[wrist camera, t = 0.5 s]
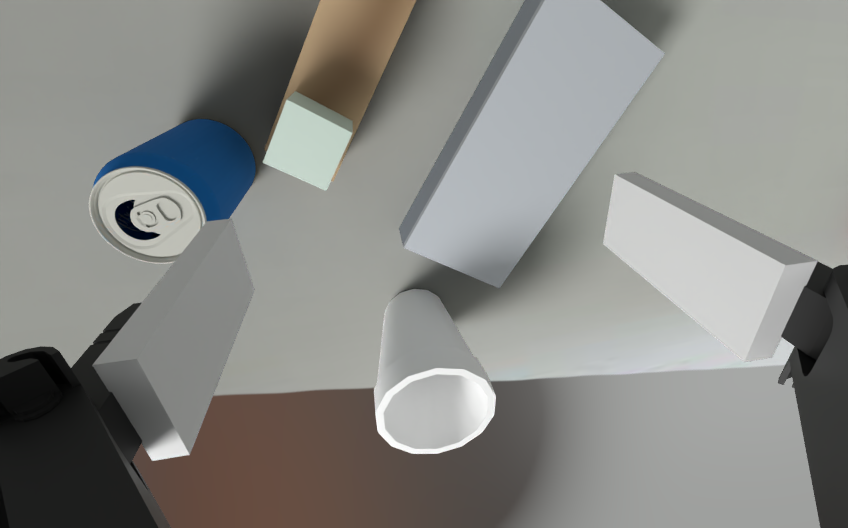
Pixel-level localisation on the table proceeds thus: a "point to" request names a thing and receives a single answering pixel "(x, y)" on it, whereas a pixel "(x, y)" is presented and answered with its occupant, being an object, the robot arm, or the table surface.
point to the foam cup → (428, 379)
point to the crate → (308, 141)
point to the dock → (527, 134)
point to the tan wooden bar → (347, 55)
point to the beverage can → (171, 189)
